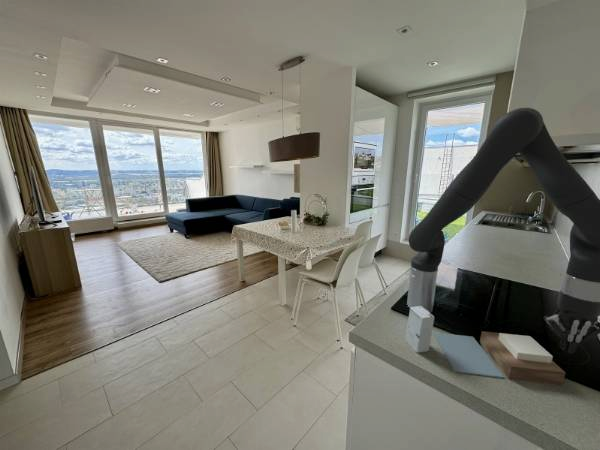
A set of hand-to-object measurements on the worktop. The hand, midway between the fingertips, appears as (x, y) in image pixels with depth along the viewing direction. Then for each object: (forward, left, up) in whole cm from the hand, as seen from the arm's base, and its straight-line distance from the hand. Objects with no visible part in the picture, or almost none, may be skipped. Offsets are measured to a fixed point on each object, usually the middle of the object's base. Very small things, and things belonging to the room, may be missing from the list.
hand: (566, 350), depth 65 cm
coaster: (0, -10, -1) cm, 10 cm away
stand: (0, -11, -5) cm, 12 cm away
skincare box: (-2, -37, -6) cm, 37 cm away
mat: (-1, -24, -5) cm, 25 cm away
